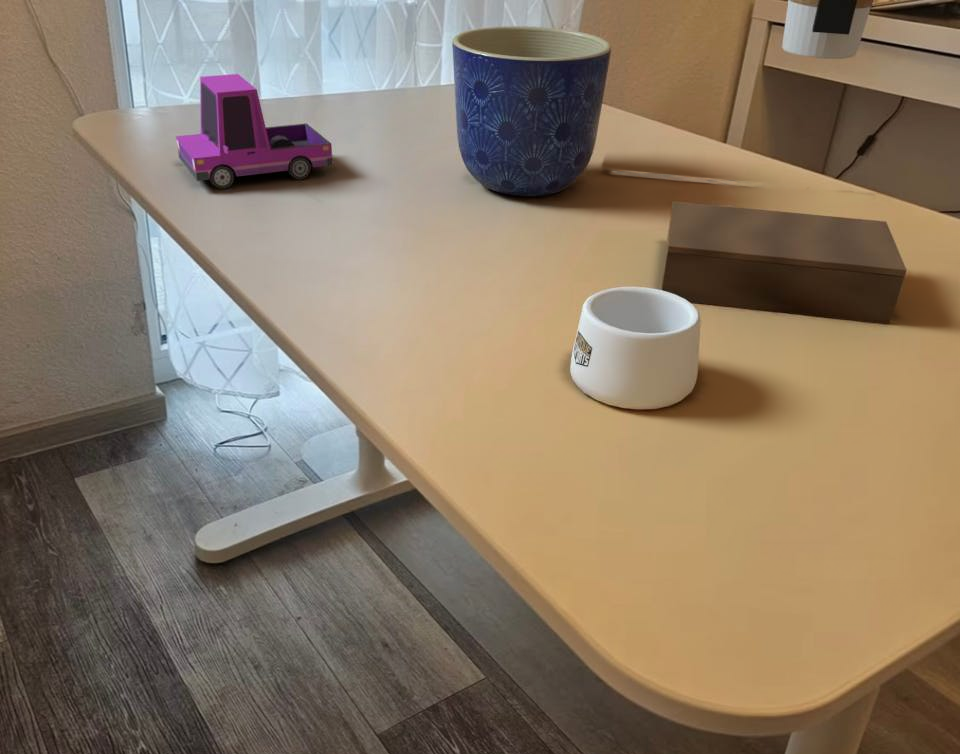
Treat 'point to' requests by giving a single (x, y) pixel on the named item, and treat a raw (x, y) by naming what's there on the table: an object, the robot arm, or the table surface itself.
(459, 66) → the planter
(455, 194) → the table surface
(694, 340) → the mug
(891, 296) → the dark wooden box
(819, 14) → the robot arm
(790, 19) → the coffee cup
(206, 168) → the toy truck
